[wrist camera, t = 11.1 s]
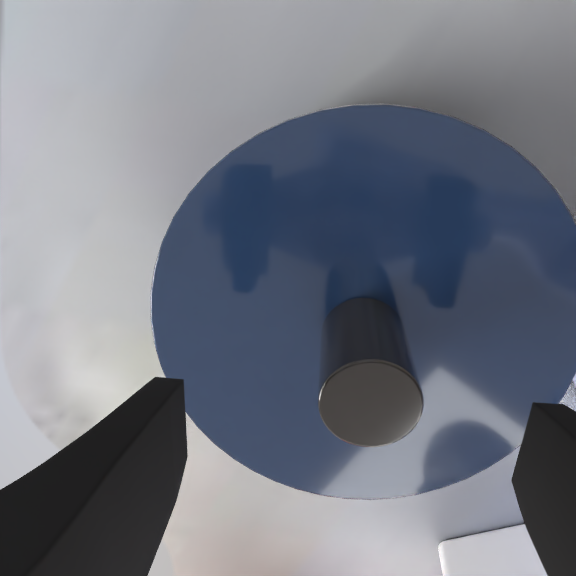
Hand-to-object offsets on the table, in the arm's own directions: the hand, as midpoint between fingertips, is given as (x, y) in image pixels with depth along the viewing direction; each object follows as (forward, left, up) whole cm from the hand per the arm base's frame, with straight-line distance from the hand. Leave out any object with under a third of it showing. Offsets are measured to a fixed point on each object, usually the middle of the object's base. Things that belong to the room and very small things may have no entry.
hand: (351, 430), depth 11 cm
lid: (0, 0, -5) cm, 5 cm away
